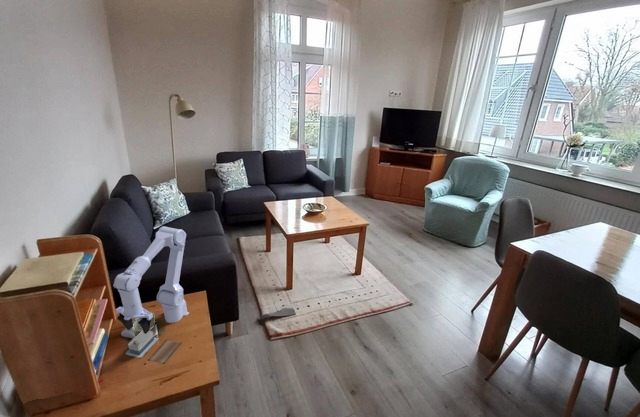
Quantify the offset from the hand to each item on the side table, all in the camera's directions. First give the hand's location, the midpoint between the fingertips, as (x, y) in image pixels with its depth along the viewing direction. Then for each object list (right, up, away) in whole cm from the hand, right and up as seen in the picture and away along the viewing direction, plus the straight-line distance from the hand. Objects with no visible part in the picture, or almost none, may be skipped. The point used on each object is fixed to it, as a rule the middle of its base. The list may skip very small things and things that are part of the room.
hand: (138, 330), depth 120 cm
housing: (0, -8, +3) cm, 8 cm away
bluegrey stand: (0, -9, +4) cm, 10 cm away
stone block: (-7, -6, +13) cm, 16 cm away
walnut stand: (+10, -10, +2) cm, 14 cm away
